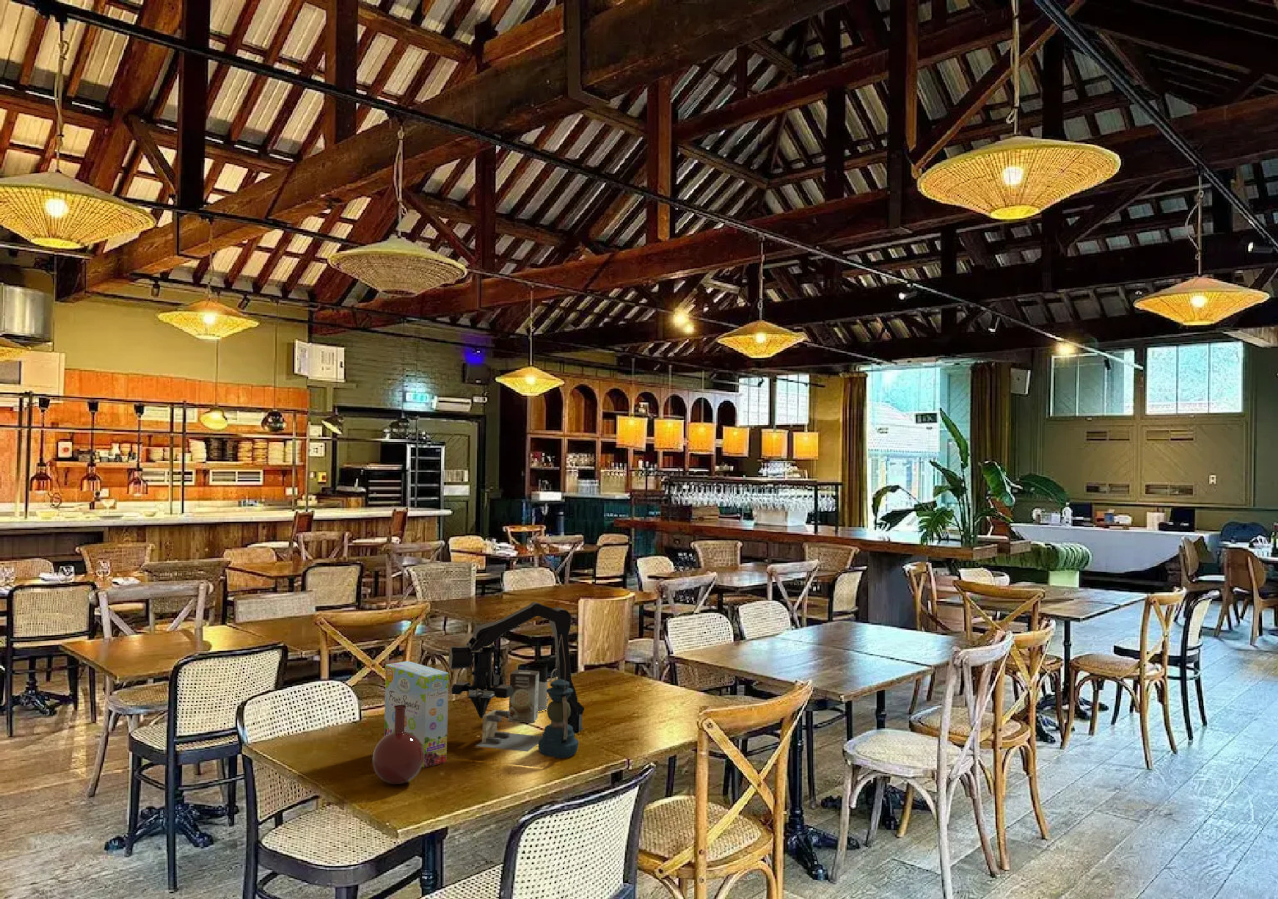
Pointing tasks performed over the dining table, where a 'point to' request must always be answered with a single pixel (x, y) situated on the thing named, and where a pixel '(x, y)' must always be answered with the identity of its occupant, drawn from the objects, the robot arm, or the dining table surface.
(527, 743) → the rubber mat
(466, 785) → the dining table surface
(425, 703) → the snack box
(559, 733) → the lantern
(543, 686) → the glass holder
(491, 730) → the footstool
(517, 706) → the coffee box
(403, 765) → the round-bottom flask
